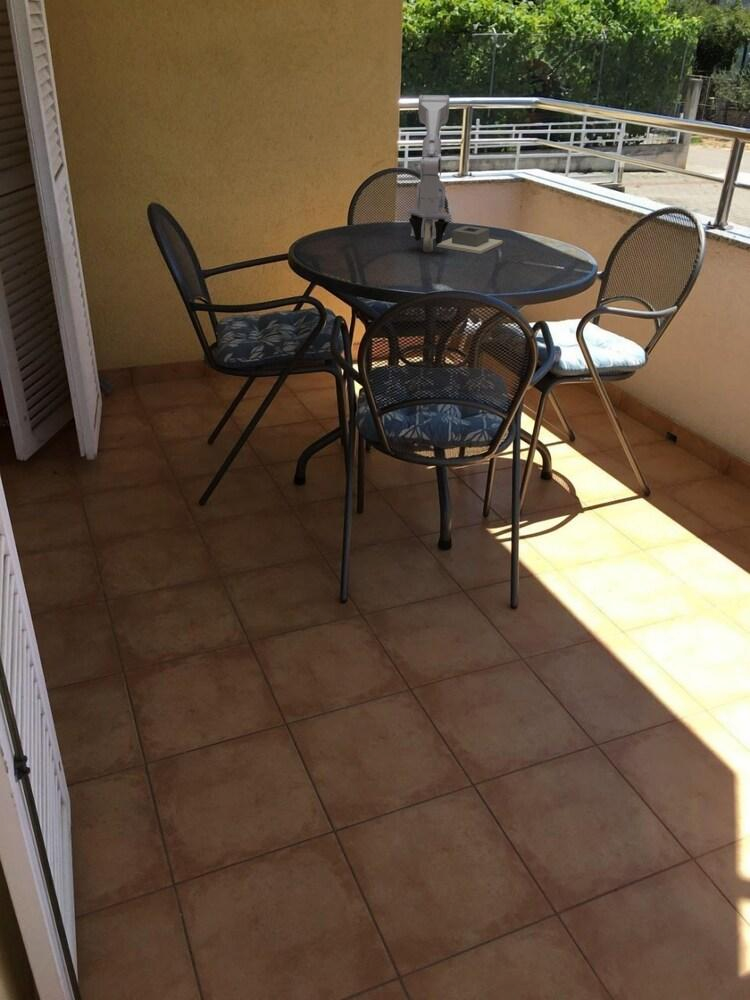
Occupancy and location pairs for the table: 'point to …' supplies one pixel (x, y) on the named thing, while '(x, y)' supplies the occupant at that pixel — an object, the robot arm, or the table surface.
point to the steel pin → (428, 235)
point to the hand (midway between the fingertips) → (428, 241)
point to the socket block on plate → (470, 240)
